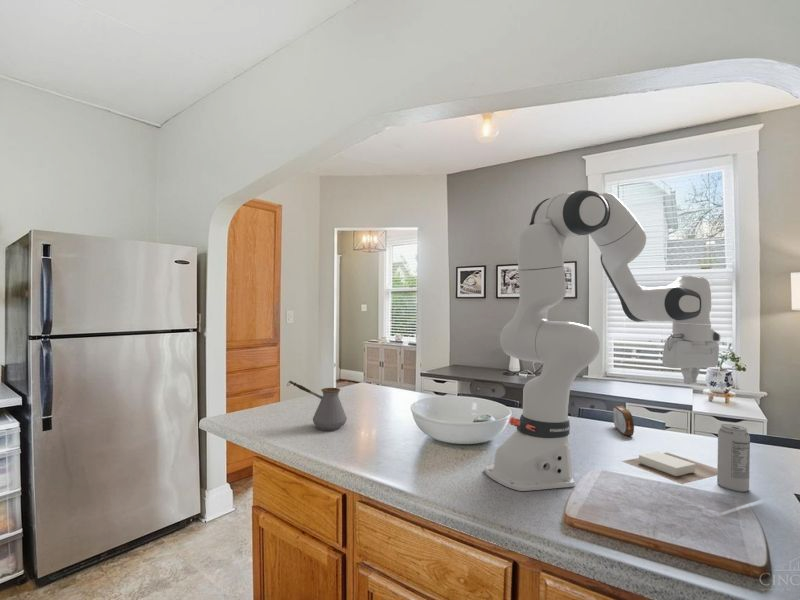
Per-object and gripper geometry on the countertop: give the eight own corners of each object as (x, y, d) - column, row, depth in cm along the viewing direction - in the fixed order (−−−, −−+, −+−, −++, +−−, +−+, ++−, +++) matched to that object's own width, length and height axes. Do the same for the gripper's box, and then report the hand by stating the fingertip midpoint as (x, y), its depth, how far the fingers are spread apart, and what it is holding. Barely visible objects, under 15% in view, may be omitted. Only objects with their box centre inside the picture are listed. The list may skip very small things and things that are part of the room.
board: (682, 486, 101) (682, 483, 101) (621, 463, 116) (621, 461, 116) (728, 474, 110) (728, 472, 110) (666, 454, 124) (666, 452, 124)
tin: (634, 438, 139) (635, 413, 140) (624, 438, 140) (625, 412, 140) (620, 426, 154) (620, 403, 154) (611, 425, 155) (611, 403, 155)
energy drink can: (734, 484, 103) (735, 423, 104) (756, 495, 97) (757, 430, 98) (710, 484, 103) (711, 423, 103) (730, 494, 97) (732, 430, 97)
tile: (695, 472, 109) (676, 477, 105) (657, 459, 118) (638, 463, 114) (695, 463, 109) (676, 468, 105) (657, 451, 118) (638, 455, 114)
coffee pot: (350, 424, 146) (351, 381, 146) (341, 433, 135) (342, 387, 135) (292, 419, 149) (294, 377, 150) (278, 428, 138) (280, 383, 138)
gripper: (680, 334, 109) (679, 387, 109) (724, 335, 118) (723, 384, 118) (656, 332, 115) (655, 383, 114) (700, 334, 124) (699, 380, 123)
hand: (690, 383), depth 116 cm, fingers closed
